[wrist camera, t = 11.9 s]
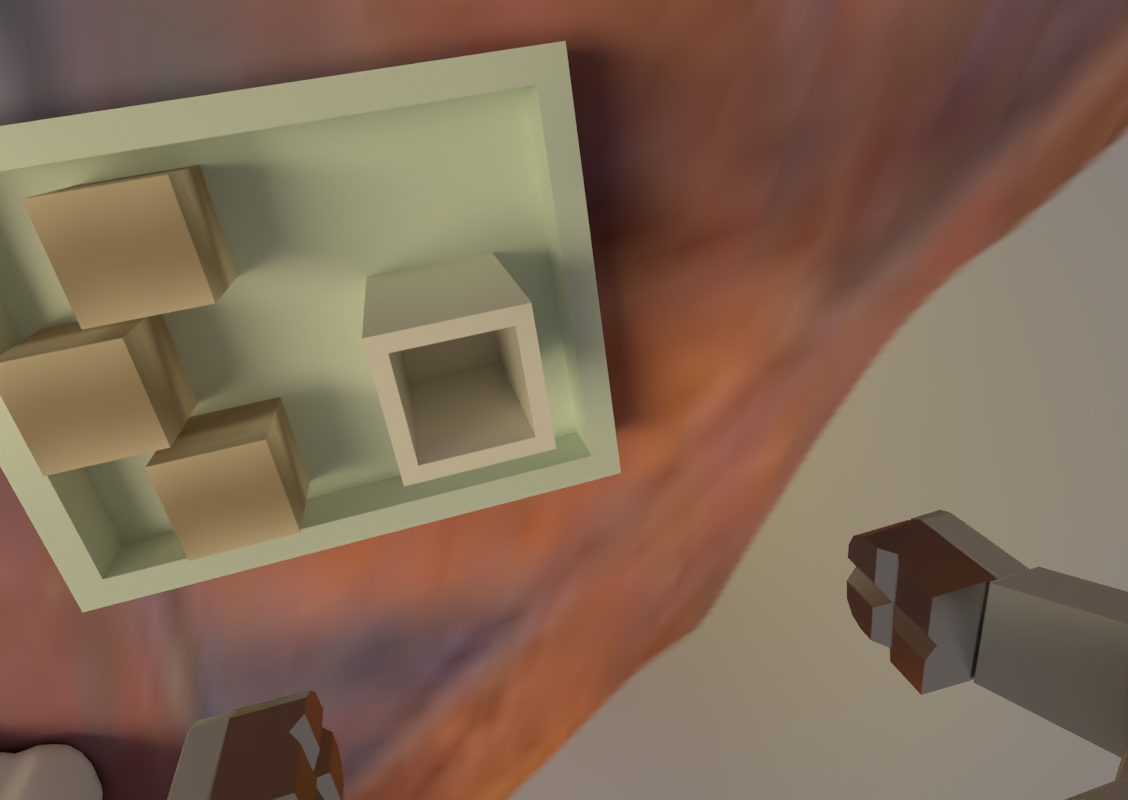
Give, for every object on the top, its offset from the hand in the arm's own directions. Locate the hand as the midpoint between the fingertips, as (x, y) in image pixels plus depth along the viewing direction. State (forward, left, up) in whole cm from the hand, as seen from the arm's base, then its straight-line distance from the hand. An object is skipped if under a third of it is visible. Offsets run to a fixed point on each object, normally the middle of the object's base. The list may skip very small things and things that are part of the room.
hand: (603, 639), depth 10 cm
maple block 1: (-5, -10, -20) cm, 23 cm away
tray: (0, -6, -21) cm, 22 cm away
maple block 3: (+4, -10, -20) cm, 23 cm away
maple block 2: (0, -13, -20) cm, 24 cm away
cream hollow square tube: (+1, -1, -20) cm, 20 cm away
